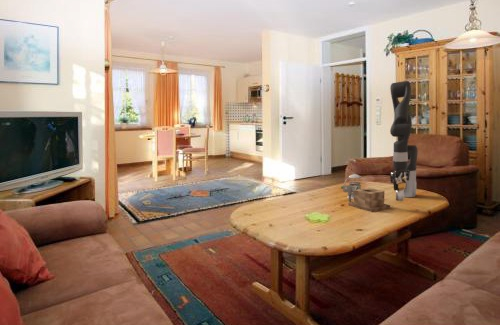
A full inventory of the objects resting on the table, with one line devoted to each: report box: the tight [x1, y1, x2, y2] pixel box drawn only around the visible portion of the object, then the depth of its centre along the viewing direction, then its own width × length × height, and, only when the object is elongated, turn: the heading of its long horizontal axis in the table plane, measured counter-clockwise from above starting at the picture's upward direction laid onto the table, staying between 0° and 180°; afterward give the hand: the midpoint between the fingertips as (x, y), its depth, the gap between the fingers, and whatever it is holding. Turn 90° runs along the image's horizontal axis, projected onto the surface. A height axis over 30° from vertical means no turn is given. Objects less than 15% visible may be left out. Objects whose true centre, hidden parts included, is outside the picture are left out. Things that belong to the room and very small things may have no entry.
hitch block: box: [347, 187, 391, 213], centre depth 204 cm, size 15×18×10 cm
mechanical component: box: [340, 184, 359, 203], centre depth 217 cm, size 3×10×10 cm, turn 78°
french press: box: [343, 159, 362, 200], centre depth 227 cm, size 10×12×25 cm
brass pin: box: [395, 181, 406, 202], centre depth 195 cm, size 6×6×10 cm
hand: (399, 189), depth 195 cm, fingers closed on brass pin, 6 cm apart
